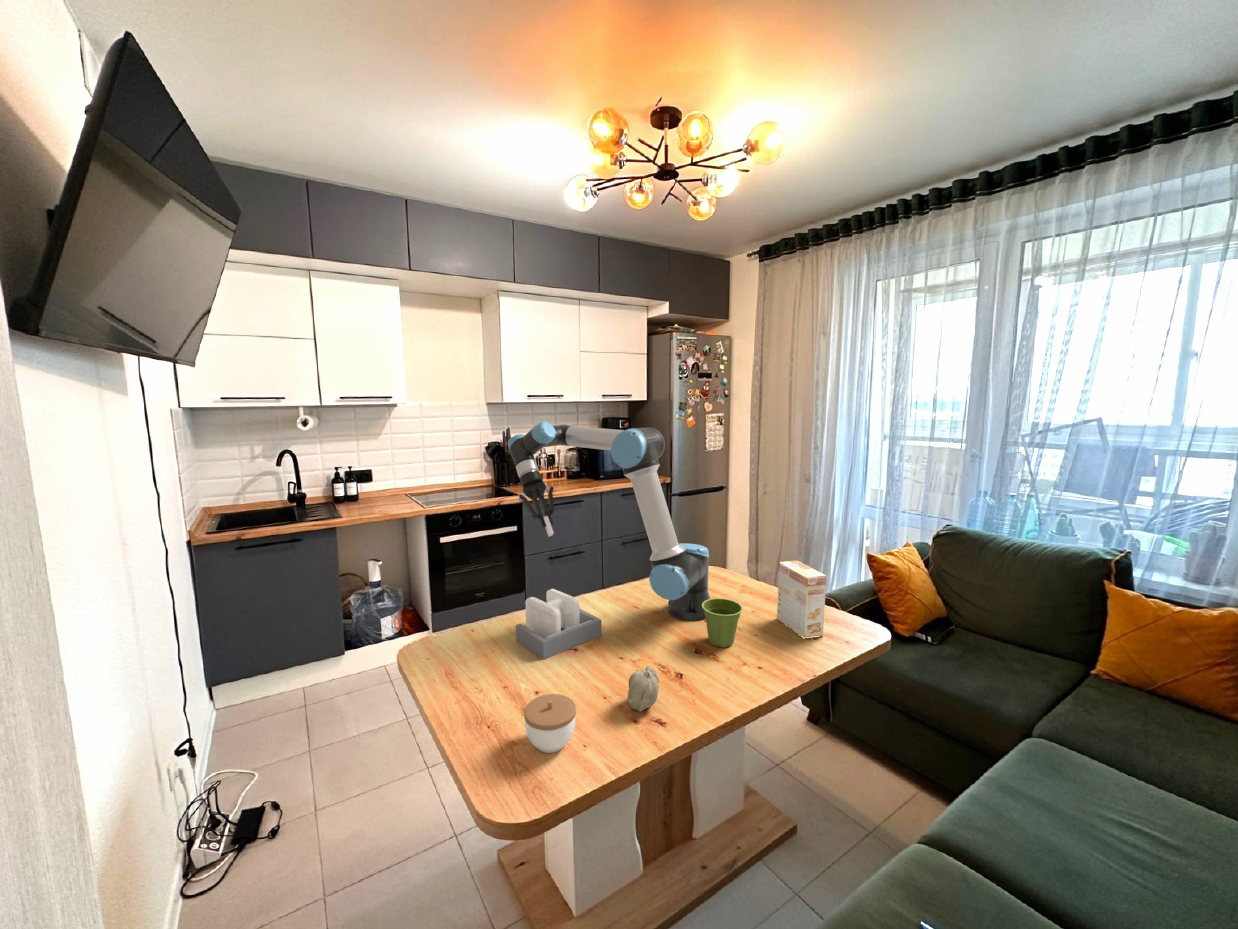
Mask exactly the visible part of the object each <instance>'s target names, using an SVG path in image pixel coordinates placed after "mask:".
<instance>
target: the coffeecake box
mask: <svg viewBox="0 0 1238 929" xmlns="http://www.w3.org/2000/svg"><path fill="white" fill-rule="evenodd" d="M777 584H778V586H777V587H778V588H777V605H776V606H777V608H776V620H778V619H779V620H780V621H779V620H778V621H779V622H781V624H783V623H784V624H786V625H787V626H788V627H789V628H788V627H787V626H786V625H785V626H786V627H787V628H788V629H790V628H791V629H792V630H793V631H794V633H795V632H797V633H798V634H799V635H800V636H803V637H804V638H805V637H811V636H823V637H824V625H825V624H824V621H825V608H826V605H825V604H826V589H827V588H826V587H827V574H826V575H825V574H824V573H823V572H821V571H818V570H816V569H815V568H812V567H810V566H809V565H806V564H805V563H803V562H801V561H799V560H788V561H787V560H786V561H780V562H779V563H778V583H777ZM784 624H783V625H784ZM791 629H790V630H791ZM792 630H791V631H792ZM793 631H792V632H793ZM799 635H798V636H799ZM800 636H799V637H800Z"/></svg>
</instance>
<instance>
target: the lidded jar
mask: <svg viewBox="0 0 1238 929" xmlns="http://www.w3.org/2000/svg"><path fill="white" fill-rule="evenodd" d="M576 714H577V706H576V703H575V702H574V700H573V699H572V698H570V697H569V696H566V695H564V694H560V693H559V694H558V693H548V694H543V695H540V696H537V697H535V698H533V699H531V700H530V701H529V702H528V703H527V704H526V706H525V707H524V710H523V717H524V726H525V731H526V735H527V738H528V740H529V741H530V743H531V744H532V746H534V747H535V748H536V749H537V750H539V751H540V752H542V753H546V754H552V753H556V752H558V751H561V750H562V749H563V748H564V747H565V746H566V745H567V744H568V742H569V741H570V740H571V739H572V736H573V734H574V730H575V726H576Z"/></svg>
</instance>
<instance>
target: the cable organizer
mask: <svg viewBox="0 0 1238 929" xmlns="http://www.w3.org/2000/svg"><path fill="white" fill-rule="evenodd" d="M545 596H546V601H543V600H542V599H540V598H537V597H534V596H530V597H528V598H526V600H525V627H527V628H529V629H530V630H532V631H533V632H535V633H536V634H538V635H540V636H541V637H543V638H544V639H546V638H547V637H548V636H550V635H553V634H556V633H558V632H561V631H562V629H563V630H566V629H569V628H571V627H574V626H576V625H579V624H580V618H579V609H580V602H579V600H578V599H577V598H576V597H575V596H572V595H570V594H567V593H564V592H562V591H560V590H557V589H555V588H551V589H547V591H546V595H545Z"/></svg>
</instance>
